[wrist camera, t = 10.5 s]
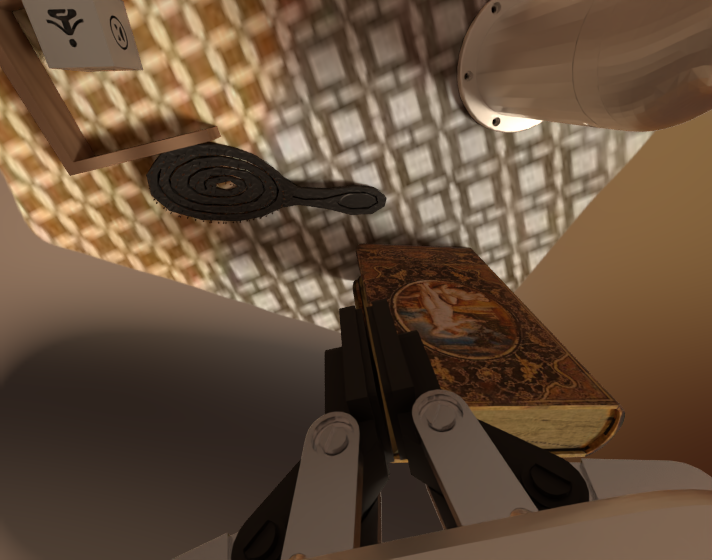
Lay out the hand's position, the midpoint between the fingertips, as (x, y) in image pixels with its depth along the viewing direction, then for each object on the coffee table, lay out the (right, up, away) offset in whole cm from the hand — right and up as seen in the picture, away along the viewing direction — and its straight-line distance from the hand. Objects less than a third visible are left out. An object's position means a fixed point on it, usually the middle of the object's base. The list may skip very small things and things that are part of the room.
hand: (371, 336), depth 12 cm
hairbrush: (-9, +12, +26) cm, 31 cm away
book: (+7, +4, +32) cm, 33 cm away
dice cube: (-23, +24, +18) cm, 38 cm away
